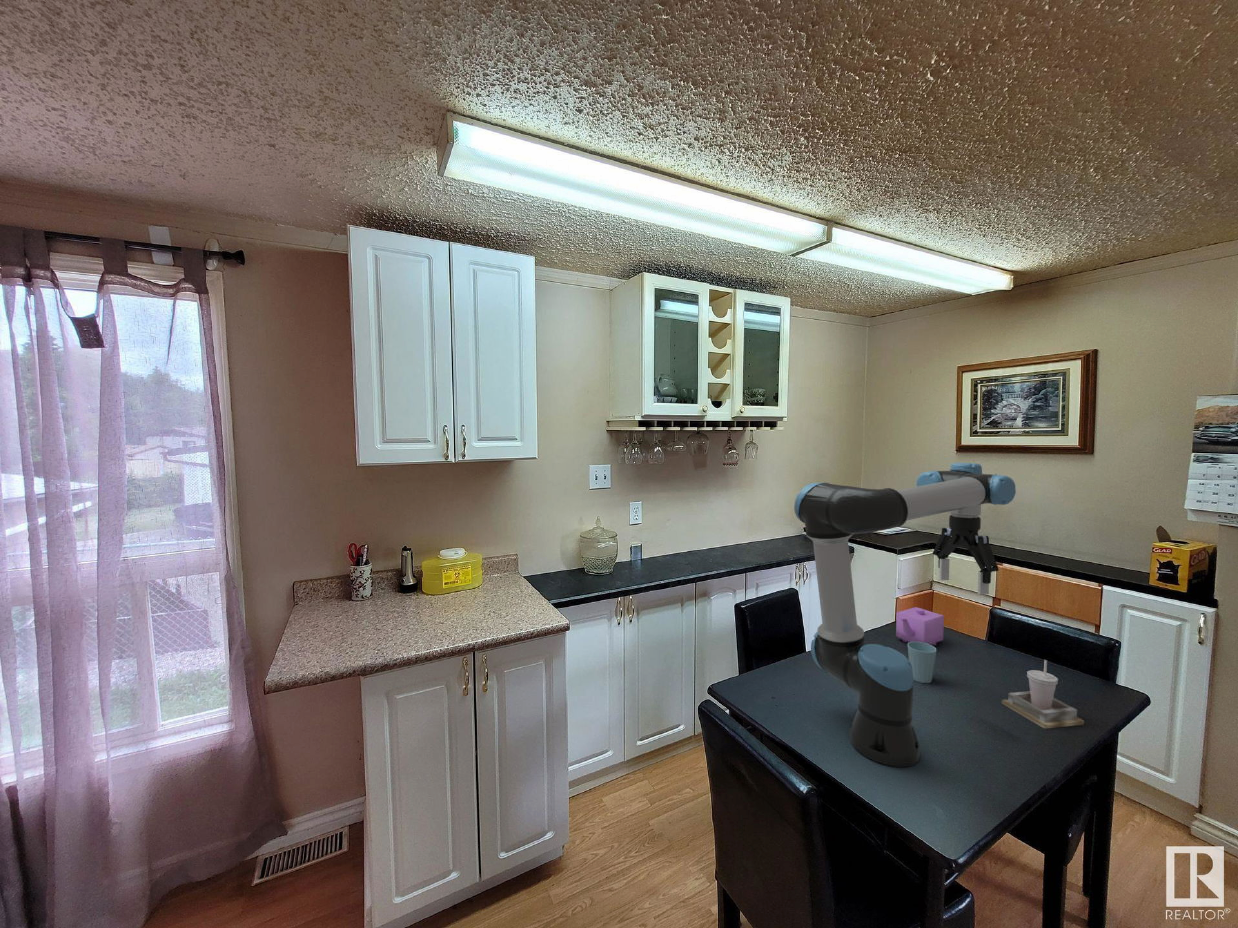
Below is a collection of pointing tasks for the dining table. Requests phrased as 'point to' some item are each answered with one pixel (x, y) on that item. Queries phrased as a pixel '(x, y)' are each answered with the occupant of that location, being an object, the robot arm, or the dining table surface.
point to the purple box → (919, 626)
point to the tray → (1043, 711)
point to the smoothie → (1042, 687)
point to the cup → (922, 661)
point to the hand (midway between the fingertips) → (962, 586)
